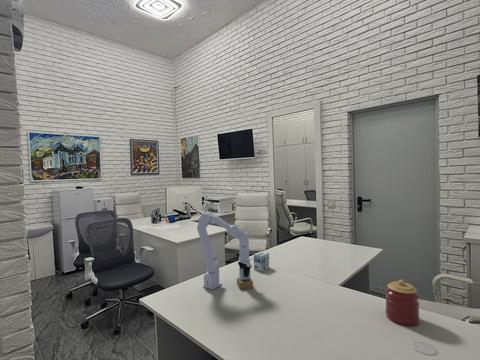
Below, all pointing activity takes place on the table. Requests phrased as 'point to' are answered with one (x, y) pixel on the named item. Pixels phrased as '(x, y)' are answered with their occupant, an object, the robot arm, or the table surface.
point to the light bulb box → (261, 261)
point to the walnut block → (244, 283)
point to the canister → (402, 303)
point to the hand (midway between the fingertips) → (244, 275)
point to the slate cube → (241, 274)
